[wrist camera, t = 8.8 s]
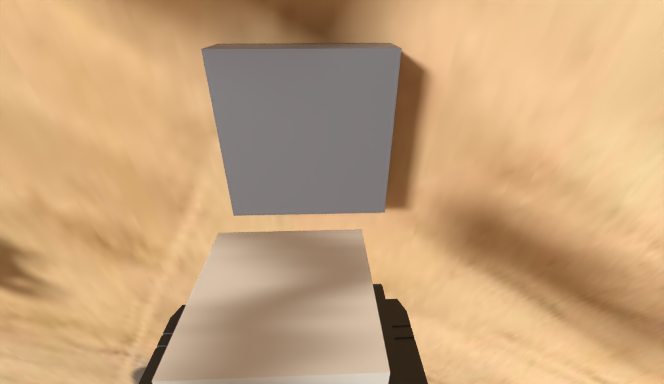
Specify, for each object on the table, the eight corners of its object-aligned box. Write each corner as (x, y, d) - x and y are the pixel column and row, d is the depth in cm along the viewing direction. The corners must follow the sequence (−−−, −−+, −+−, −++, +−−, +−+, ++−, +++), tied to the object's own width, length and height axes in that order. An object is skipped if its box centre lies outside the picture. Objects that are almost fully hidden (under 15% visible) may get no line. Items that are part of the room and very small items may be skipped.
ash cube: (361, 229, 11) (390, 372, 7) (356, 321, 13) (374, 468, 9) (218, 232, 11) (151, 381, 6) (239, 325, 13) (202, 477, 9)
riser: (390, 43, 25) (401, 48, 22) (377, 191, 32) (384, 212, 29) (217, 43, 25) (201, 49, 21) (242, 193, 32) (233, 215, 29)
